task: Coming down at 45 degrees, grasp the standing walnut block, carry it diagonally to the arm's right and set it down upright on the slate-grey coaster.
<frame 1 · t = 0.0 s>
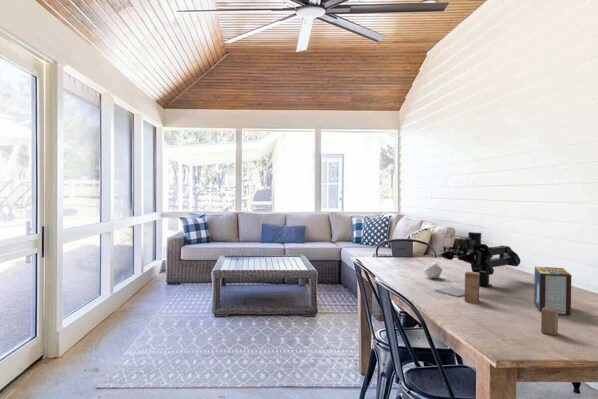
hand: (449, 256, 182), 17 cm above the table, tool horizontal, fingers open, 9 cm apart
die: (432, 278, 212), on the table
walnut block: (471, 300, 167), on the table
wooden block: (549, 333, 130), on the table
protein box: (551, 309, 157), on the table
coaster: (454, 292, 182), on the table
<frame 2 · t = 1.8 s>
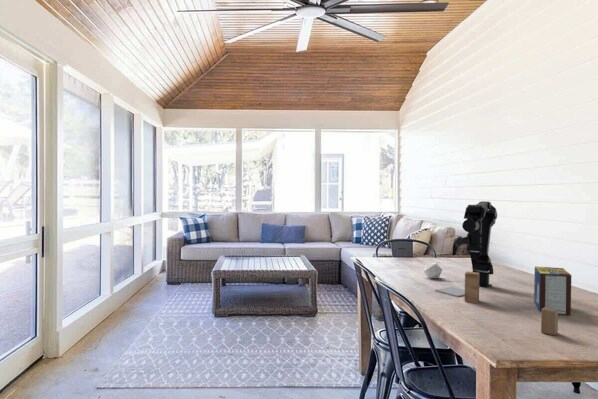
hand: (473, 265, 182), 13 cm above the table, tool pointing down, fingers open, 9 cm apart
nothing on the table moved.
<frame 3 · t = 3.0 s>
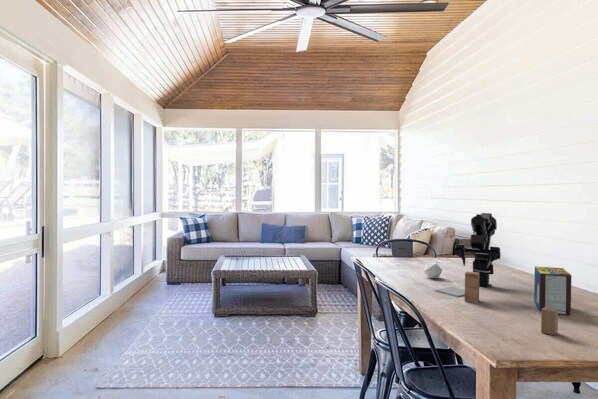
hand: (475, 266, 174), 13 cm above the table, tool tilted 45°, fingers open, 9 cm apart
nothing on the table moved.
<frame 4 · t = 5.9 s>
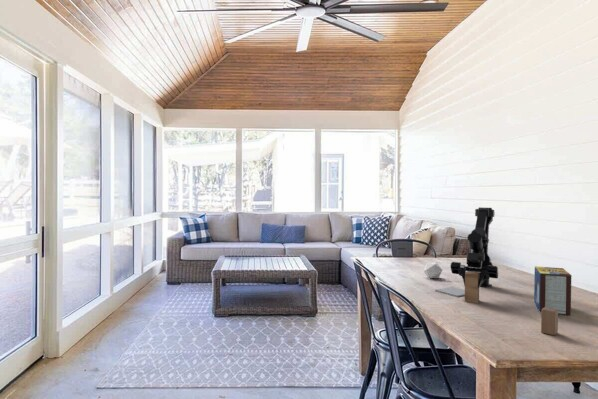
hand: (471, 286, 166), 7 cm above the table, tool tilted 45°, fingers closed on walnut block, 5 cm apart
walnut block: (471, 300, 167), on the table, touching gripper
everything else where it was.
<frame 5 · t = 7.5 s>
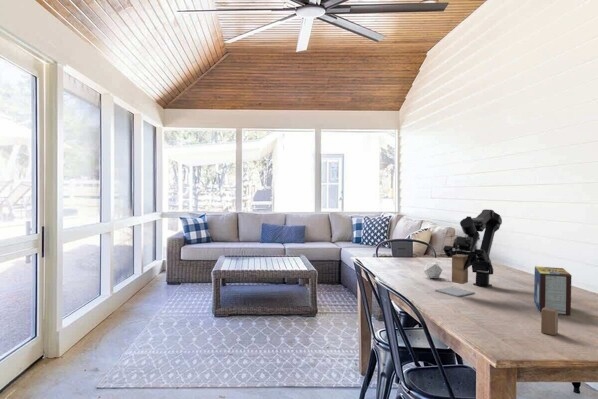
hand: (458, 268, 175), 12 cm above the table, tool tilted 45°, fingers closed on walnut block, 5 cm apart
walnut block: (459, 282, 177), point 6 cm above the table, touching gripper
everything else where it was.
when the fingers open (8 cm above the table, at t = 9.0 s): walnut block drops 1 cm, resting on coaster.
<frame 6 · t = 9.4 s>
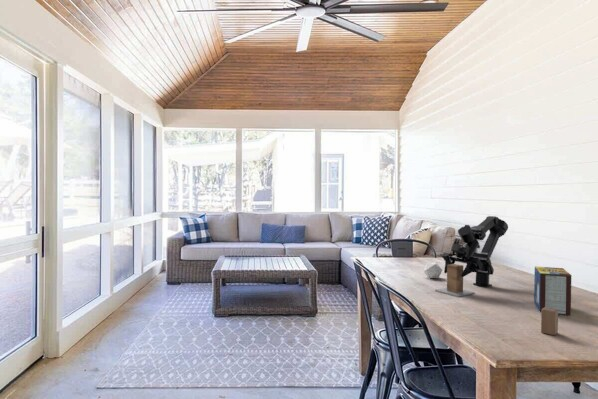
hand: (453, 274, 181), 8 cm above the table, tool tilted 45°, fingers open, 9 cm apart
walnut block: (454, 291, 182), point 1 cm above the table, touching coaster
everything else where it was.
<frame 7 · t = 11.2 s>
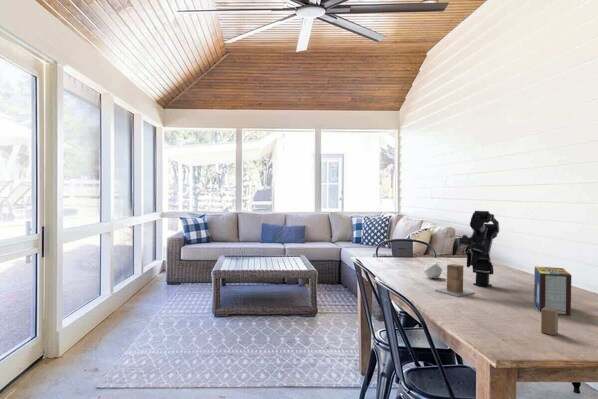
hand: (469, 266, 186), 11 cm above the table, tool tilted 25°, fingers open, 9 cm apart
nothing on the table moved.
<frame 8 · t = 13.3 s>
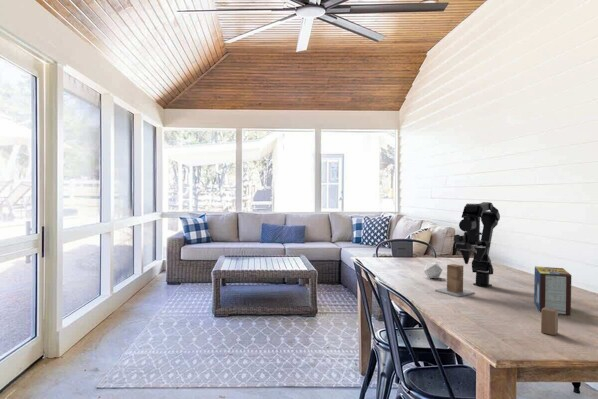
hand: (472, 263, 185), 13 cm above the table, tool pointing down, fingers open, 9 cm apart
nothing on the table moved.
at the end: walnut block inside the target area (0.0 cm from its centre), point 0.6 cm above the table; walnut block tilted 0°; the gripper is holding nothing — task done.
